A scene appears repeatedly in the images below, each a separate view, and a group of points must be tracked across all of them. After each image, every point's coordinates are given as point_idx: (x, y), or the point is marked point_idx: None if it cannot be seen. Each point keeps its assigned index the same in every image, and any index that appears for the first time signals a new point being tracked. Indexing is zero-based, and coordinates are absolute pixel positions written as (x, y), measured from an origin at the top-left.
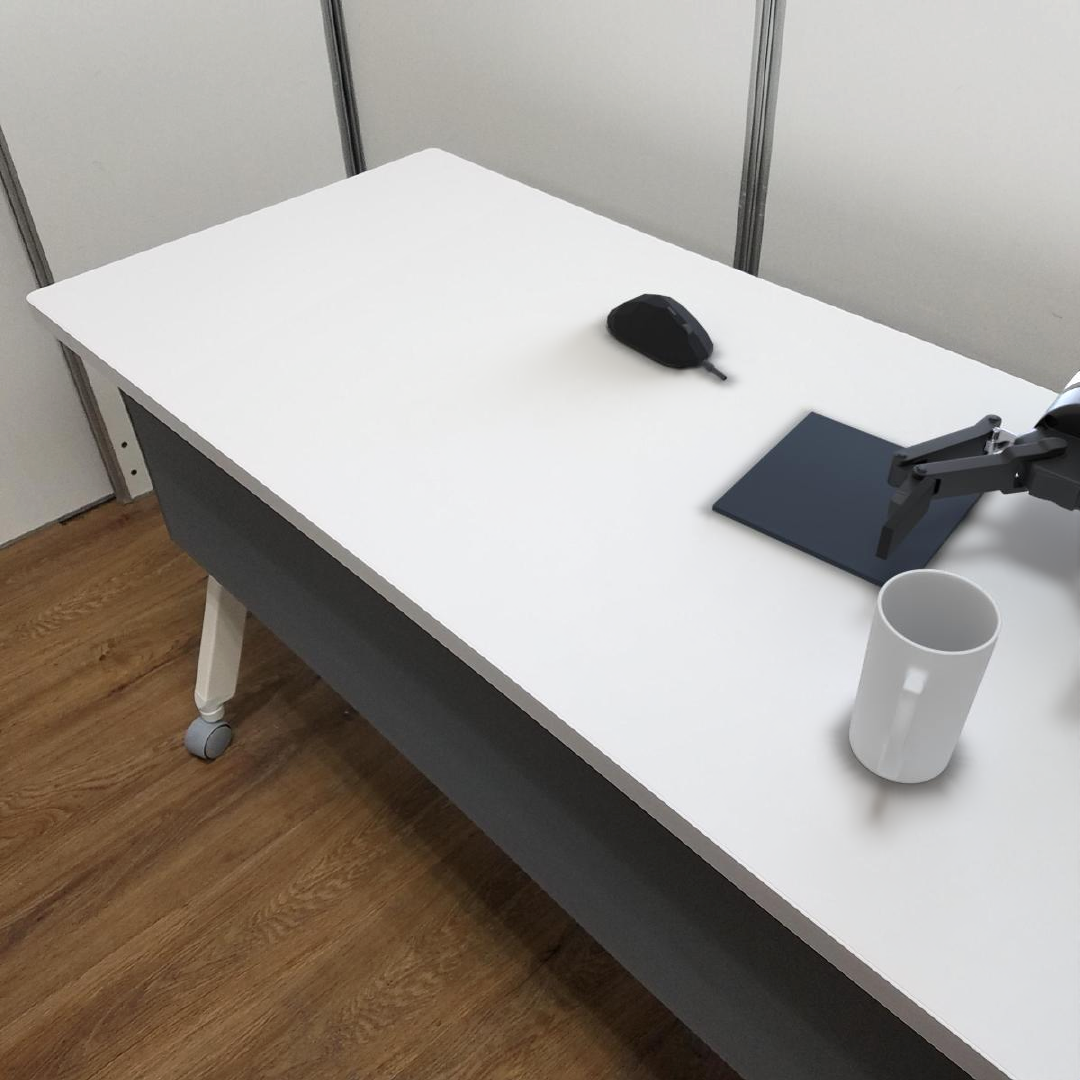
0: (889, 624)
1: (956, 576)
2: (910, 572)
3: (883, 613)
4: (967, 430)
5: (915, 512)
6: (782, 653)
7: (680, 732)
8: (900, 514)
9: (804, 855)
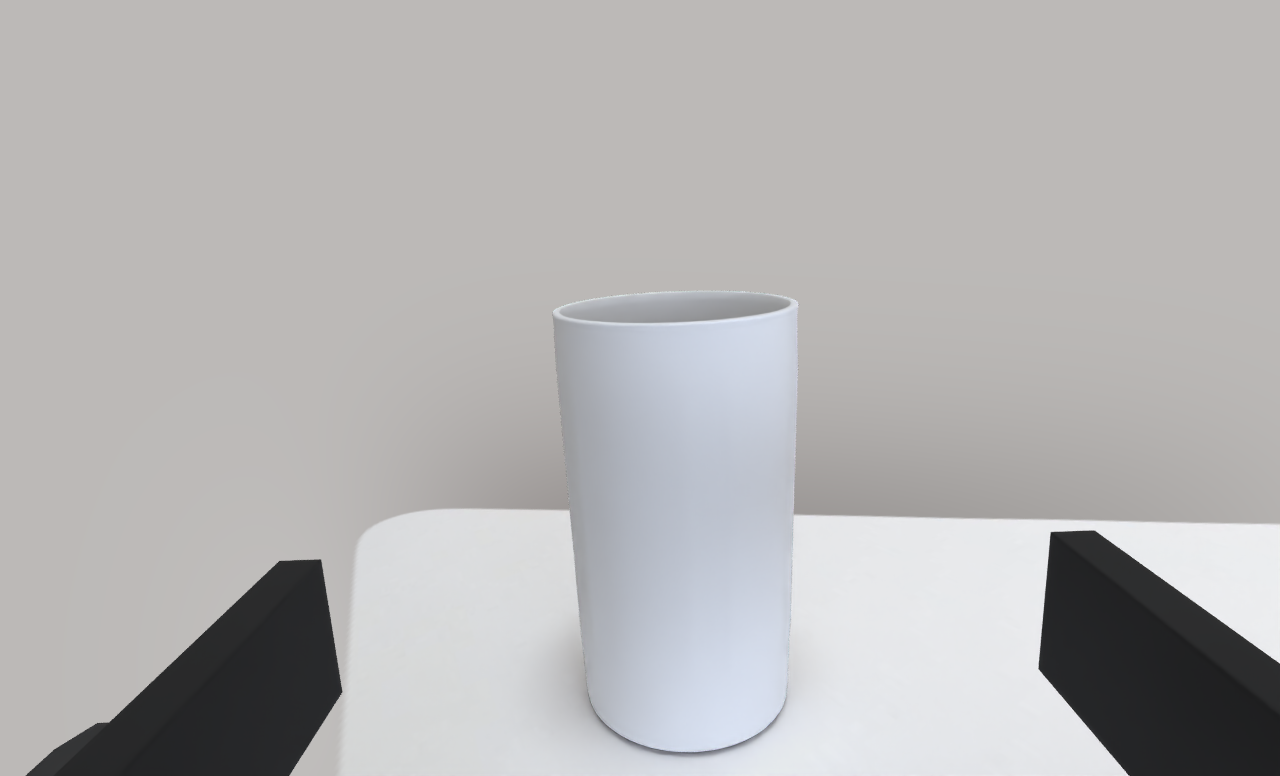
0: (725, 291)
1: (694, 322)
2: (780, 310)
3: (748, 293)
4: None
5: (1194, 721)
6: (1036, 729)
7: (954, 561)
8: (1133, 578)
9: None
